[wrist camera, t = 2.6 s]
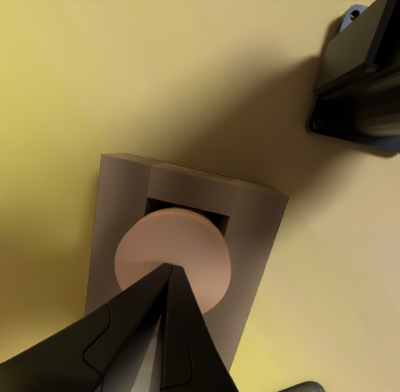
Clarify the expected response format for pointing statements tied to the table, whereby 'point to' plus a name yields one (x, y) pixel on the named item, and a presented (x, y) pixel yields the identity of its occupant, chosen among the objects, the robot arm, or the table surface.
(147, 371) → the middle knob
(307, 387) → the phone
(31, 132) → the table surface
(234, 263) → the knob mount
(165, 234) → the knob
